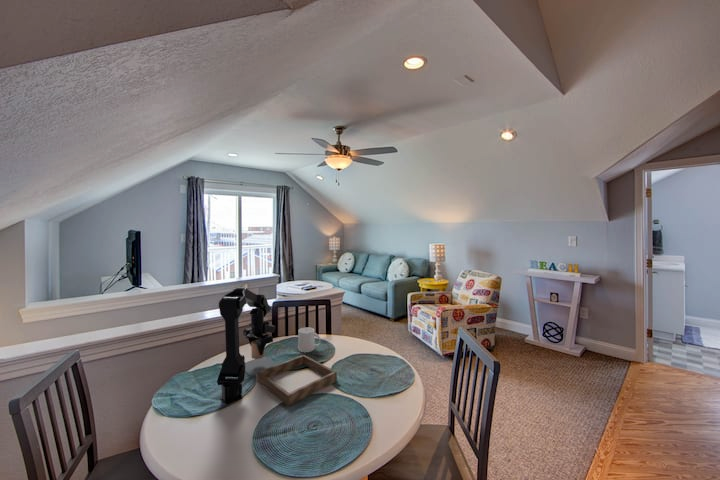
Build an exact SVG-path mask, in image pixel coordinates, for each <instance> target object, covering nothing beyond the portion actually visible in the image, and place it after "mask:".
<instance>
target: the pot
mask: <svg viewBox="0 0 720 480" xmlns="http://www.w3.org/2000/svg"><path fill="white" fill-rule="evenodd" d="M256 343H257V340H254V341H252V342H251V345H250V347H251V349H250V350H251V359H252V360H254V359H260V358H263V357H264V356H266V347H265V348H264V351H263V354H262V355H260V354H259V351H258V348H257V346H256Z"/></svg>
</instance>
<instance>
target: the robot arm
mask: <svg viewBox="0 0 720 480" xmlns="http://www.w3.org/2000/svg"><path fill="white" fill-rule="evenodd" d="M246 304H247V305H248V307H250V308H251V310H250V311H249V315H250V323H249V326H250V327H247V328H244V330H243V331H242V335H243V336H244V337H245V338H246V340H247V341H248V343H249V345H250V346H251V342H252V341H254V340H257V343H256V346H257V348H258V351H259V354H260V355H262V354H263V351H264V348H265V349H266V345H267V344H270V343H273V342H274V337H273V336H272V335H270V334H268V333H272V334H275V333H274V332H275V329H276V325H273V324H270V322H269V321H266V320H264V319H265V317H266V316H268V314H270V313H271V310H272V308H271V306H270V305H269V302H268V300H267V297H266V295H265V294H258V293H255V292H253V291H251V290H249V288H247V287H234V288H233V289H232V290H231V291H230V292H228V293H225V294H224V295H223V296H222V297H221V299H220V300H219V301H218V309H219V313H220V316H221V317H222V319H223V320H224V330H225V332H224V334H225V335H224V336H225V358H224V359H223V361H222V363H221V368H220V371H219V374H218V377H217V379H216V383H217V386H221V395H220V397H219V398H220V400H221V401H223V404H225V405H229V404H231V403H233V402H236V401H238V400H240V399H242V398H243V397H244V396H243V384H242V383H243V382H244V380H245V377H246V376H245V375H246V372H245V362H246V359H245V358H246V357H245V355H242V354H241V353H240V326H239V324H240V323H239V318H240V316H241V314H242V312H243V310H244V309H243V308H244V307H245V305H246Z"/></svg>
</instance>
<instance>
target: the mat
mask: <svg viewBox="0 0 720 480" xmlns="http://www.w3.org/2000/svg"><path fill="white" fill-rule="evenodd" d="M278 364H279V363H277V362H275V361H273V360H272V359H271V358H268V357H267V356H266V355H265V356H264V357H263V358H260V359H251V360H249V361H248V360H247V361H245V374H247V375H249V376H250V377H253V376H257V372H259V371H262V370H265V369H267V368H270V367H272V366H275V365H278Z"/></svg>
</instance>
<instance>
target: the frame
mask: <svg viewBox="0 0 720 480" xmlns="http://www.w3.org/2000/svg"><path fill="white" fill-rule="evenodd" d="M277 364H278V365H275V366H272V367H270V368H267V369H265V370H262V371H259V372H257V374H256V382H257V383H258V384H259V385H261V386H263V388H265V389H266V390H267V391H268V392H270V393H271V394H273V395H274V397H276V398H277V399H279V400H280V401H281V402H282V403H285V405H286V406H288V407H289V406H290V405H292V404H294V403H297V402H298V401H301V400H302V399H304V398H306V397H308V396H310V395H312V394H314V393H315V392H316V393H317V392H318V391H320V390H322V389H324V388H326V387H328V386H330V385H332V384H334V383H335V382H337V380H338V373H337V371H335V370H333V369H332V368H330V367H328V366H326V365H324V364H322V363H321V362H318V361H316V360H315V359H313V358H312V357H310V356H308V355H305V354H301V355H299V356H295V357H294V358H291V359H289V360H286V361H282V362H280V363H277ZM302 365H304V366H306V367H308V368H309V369H311V370H313V371H315V372H316V373H318V374H320V375H321V376H322V377H320V378H317V379H316V380H314V381H311V382H308V383H307V384H304V385H302V386H301V387H298V388H297V389H294V390H293V391H290V392H288V391H287V389H284V388H283V387H281V385H279V384H277V382H275V381H273V380H272V379H271V378H273V377H275V376H277V375H281V374H282V373H285V372H288V371H290V370H292V369H294V368H297V367H299V366H302Z"/></svg>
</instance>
